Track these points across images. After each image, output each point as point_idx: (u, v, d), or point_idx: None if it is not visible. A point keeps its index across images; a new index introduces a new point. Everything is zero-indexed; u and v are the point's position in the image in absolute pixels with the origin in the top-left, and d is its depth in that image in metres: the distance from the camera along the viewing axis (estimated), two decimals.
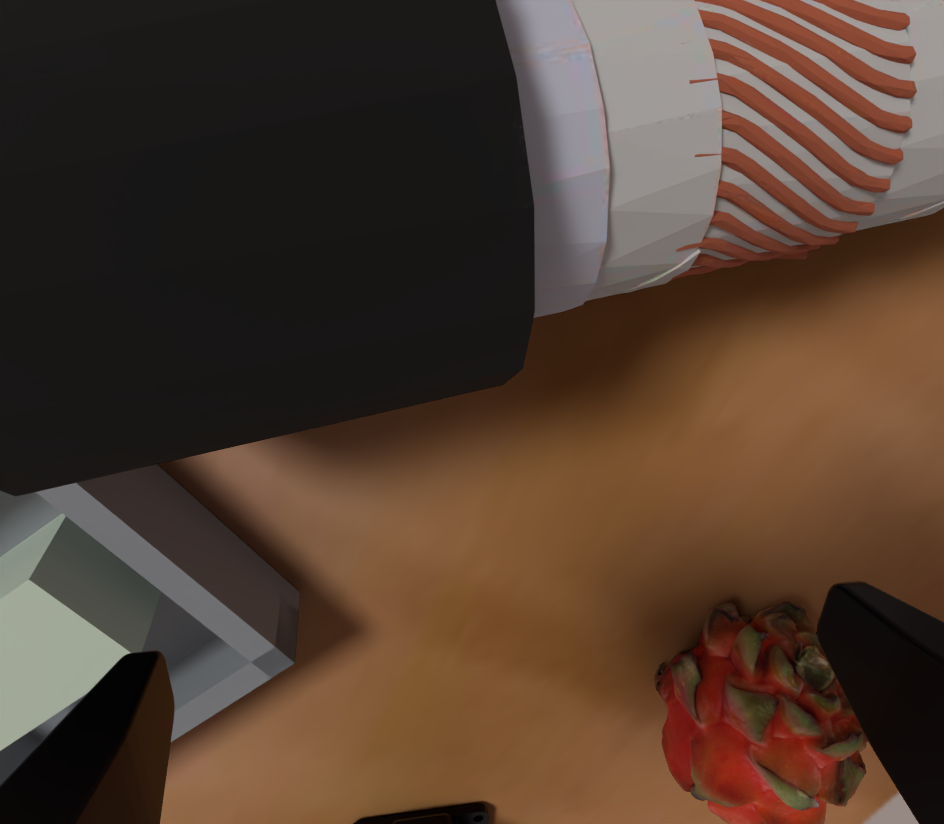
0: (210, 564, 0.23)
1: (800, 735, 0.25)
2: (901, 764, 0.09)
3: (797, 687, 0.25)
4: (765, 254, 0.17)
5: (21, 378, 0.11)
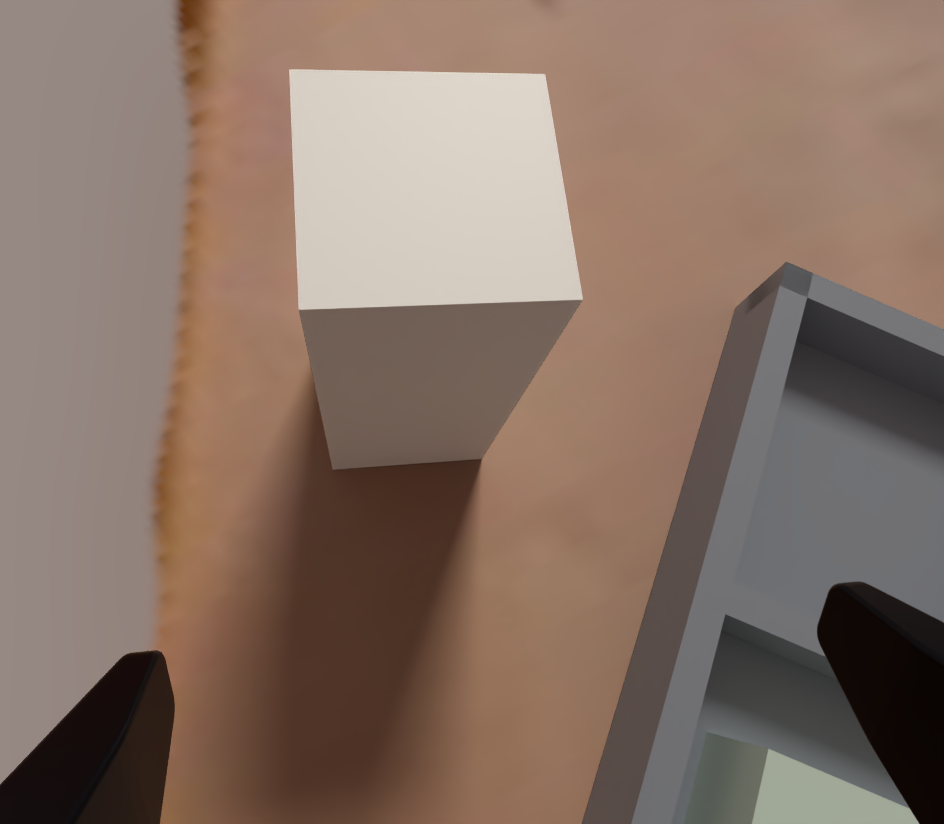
0: None
1: None
2: (901, 764, 0.09)
3: None
4: None
5: None
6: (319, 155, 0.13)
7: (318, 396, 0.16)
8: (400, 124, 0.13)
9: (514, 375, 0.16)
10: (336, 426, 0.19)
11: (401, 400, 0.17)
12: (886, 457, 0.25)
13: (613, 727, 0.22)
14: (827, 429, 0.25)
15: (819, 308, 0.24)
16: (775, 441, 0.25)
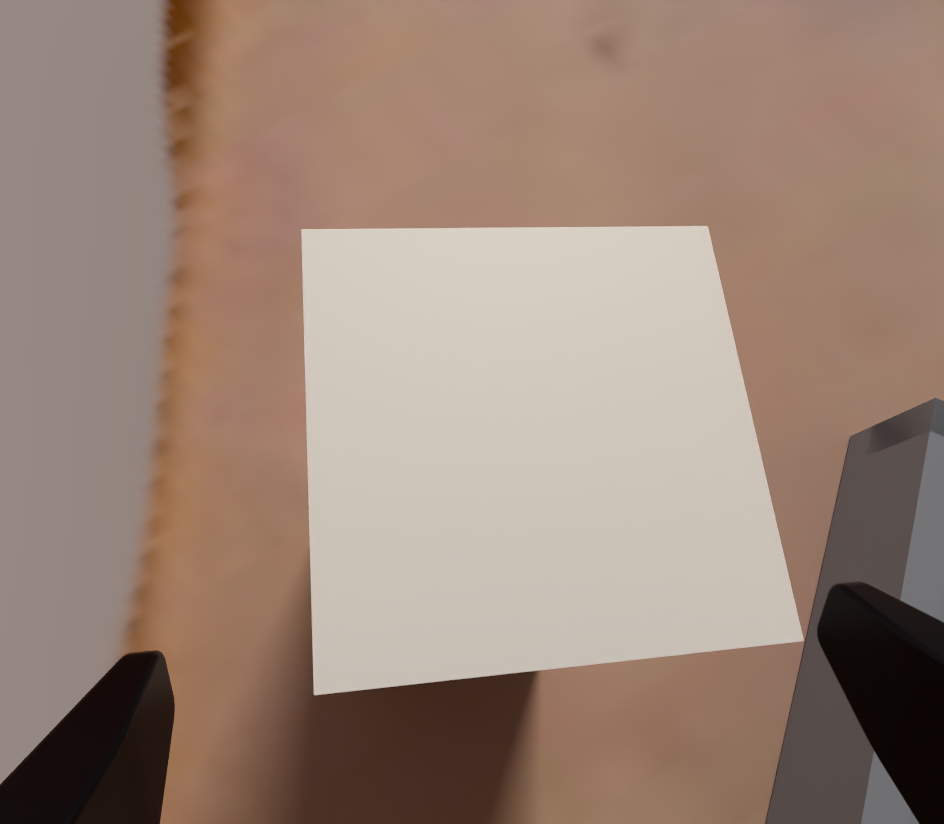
0: None
1: None
2: (901, 764, 0.09)
3: None
4: None
5: None
6: (350, 384, 0.08)
7: None
8: (484, 321, 0.08)
9: None
10: None
11: None
12: None
13: None
14: None
15: None
16: None
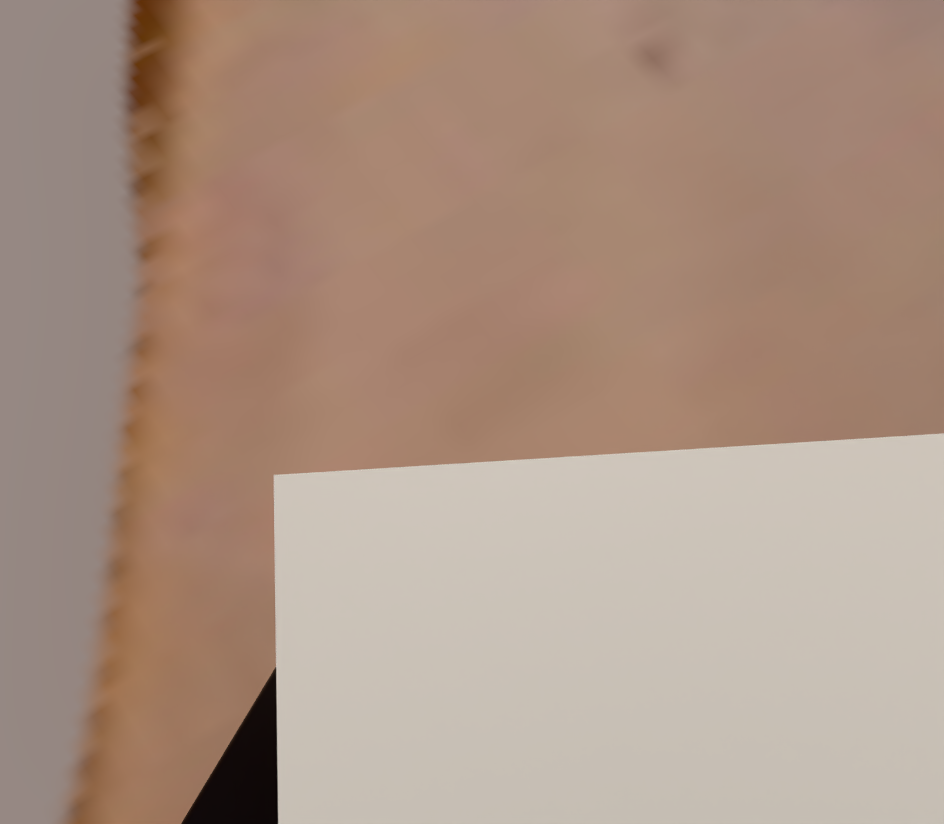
0: None
1: None
2: None
3: None
4: None
5: None
6: None
7: None
8: (624, 656, 0.04)
9: None
10: None
11: None
12: None
13: None
14: None
15: None
16: None
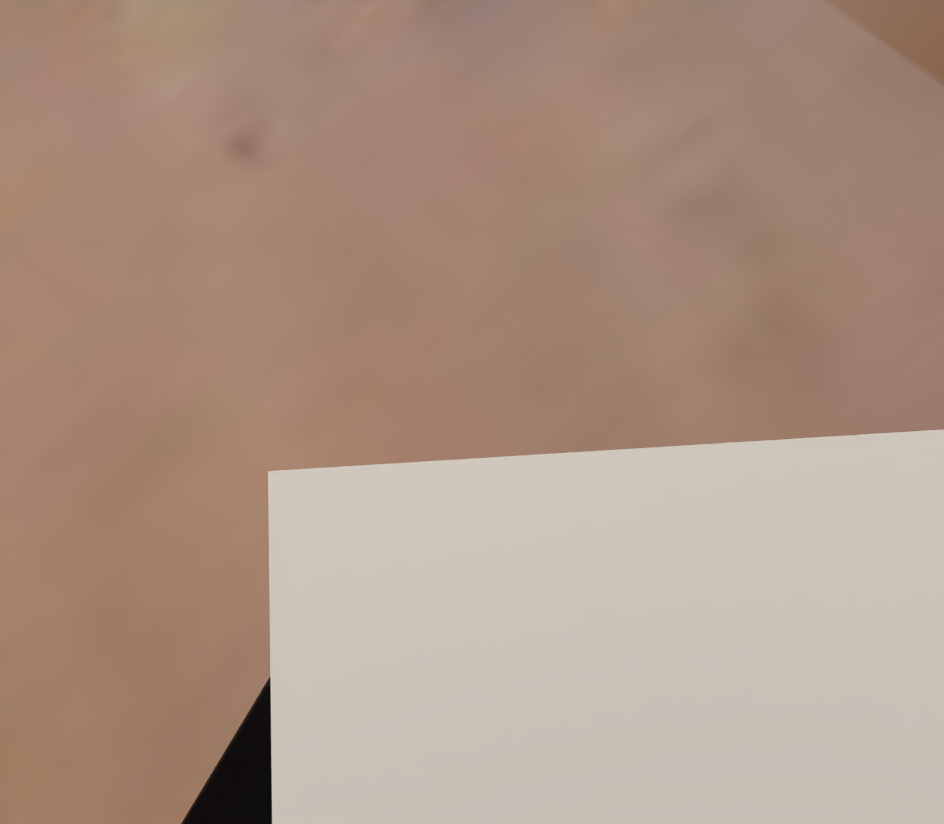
0: None
1: None
2: None
3: None
4: None
5: None
6: (364, 817, 0.04)
7: None
8: (618, 651, 0.04)
9: None
10: None
11: None
12: None
13: None
14: None
15: None
16: None
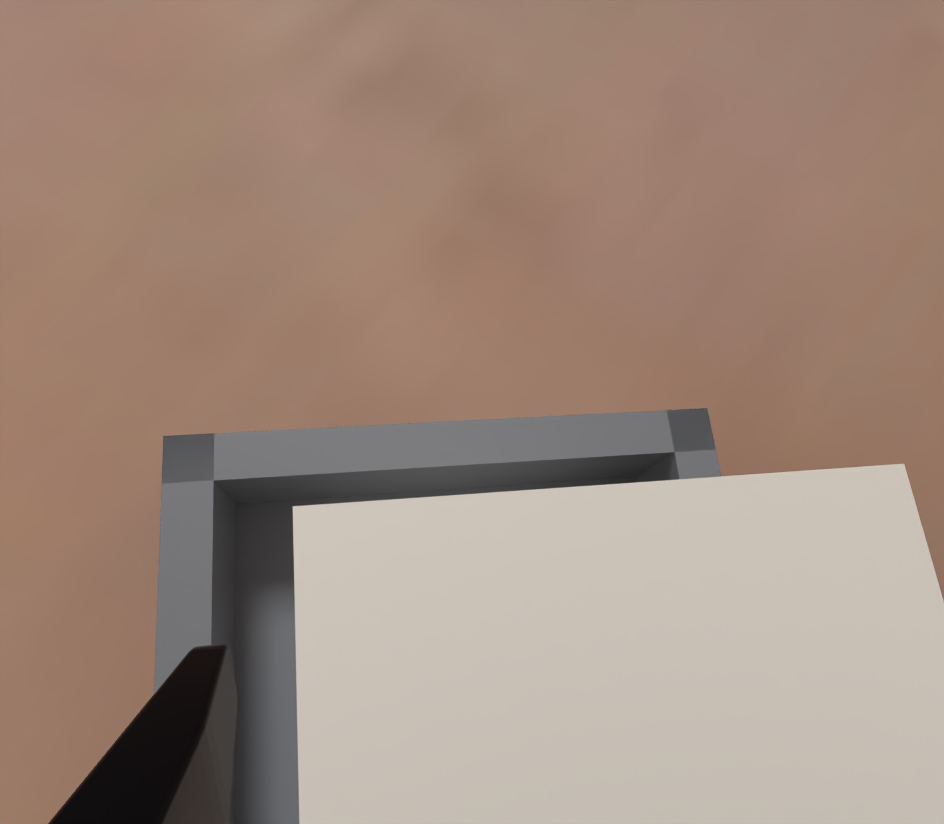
0: None
1: None
2: None
3: None
4: None
5: None
6: (372, 790, 0.05)
7: None
8: (582, 656, 0.05)
9: None
10: None
11: None
12: None
13: None
14: None
15: (248, 480, 0.15)
16: None
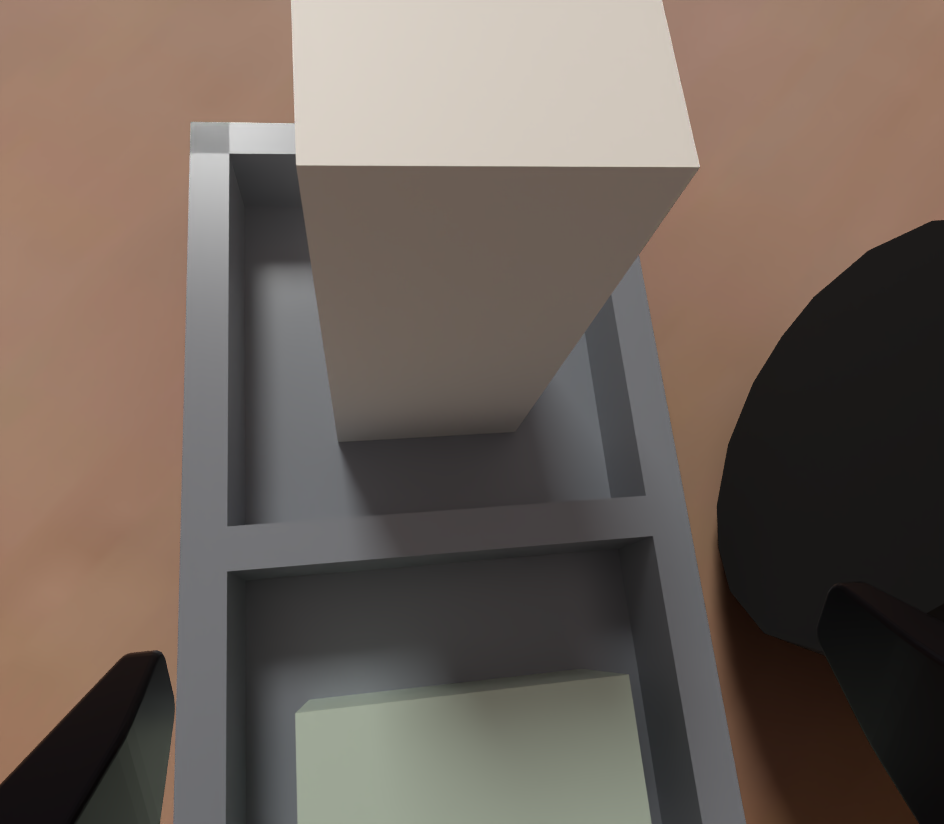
0: None
1: None
2: (901, 764, 0.09)
3: None
4: None
5: None
6: None
7: (322, 329, 0.12)
8: None
9: (578, 303, 0.12)
10: (344, 377, 0.15)
11: (429, 340, 0.13)
12: None
13: None
14: None
15: (255, 160, 0.19)
16: (293, 331, 0.20)
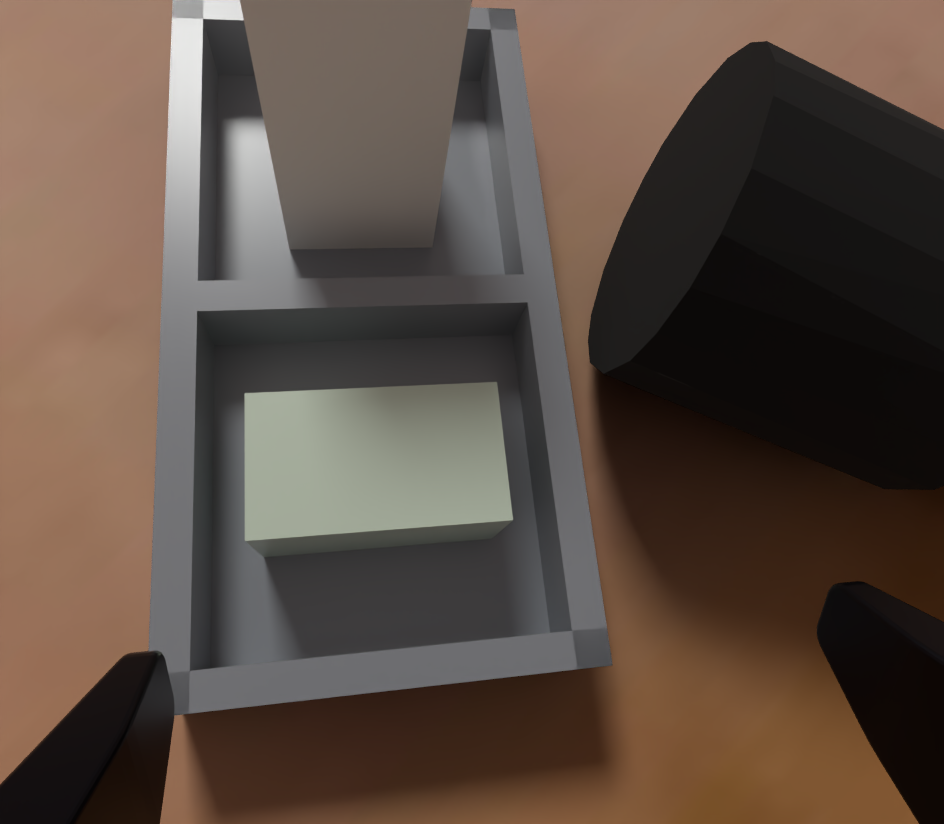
0: None
1: None
2: (901, 764, 0.09)
3: None
4: None
5: (822, 177, 0.17)
6: None
7: (259, 91, 0.18)
8: None
9: (440, 73, 0.18)
10: (283, 156, 0.20)
11: (339, 111, 0.19)
12: None
13: None
14: None
15: (224, 26, 0.24)
16: (255, 167, 0.25)
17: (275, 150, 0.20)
